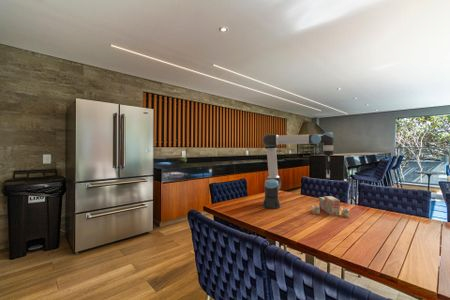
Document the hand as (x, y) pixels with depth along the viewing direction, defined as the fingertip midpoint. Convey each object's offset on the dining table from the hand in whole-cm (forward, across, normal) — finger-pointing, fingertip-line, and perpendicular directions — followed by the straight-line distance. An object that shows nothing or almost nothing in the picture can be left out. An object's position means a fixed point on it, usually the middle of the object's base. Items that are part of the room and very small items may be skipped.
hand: (328, 177), depth 184 cm
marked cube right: (+26, -17, -11) cm, 33 cm away
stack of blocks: (+27, -10, 0) cm, 28 cm away
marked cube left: (+26, -17, +10) cm, 33 cm away
